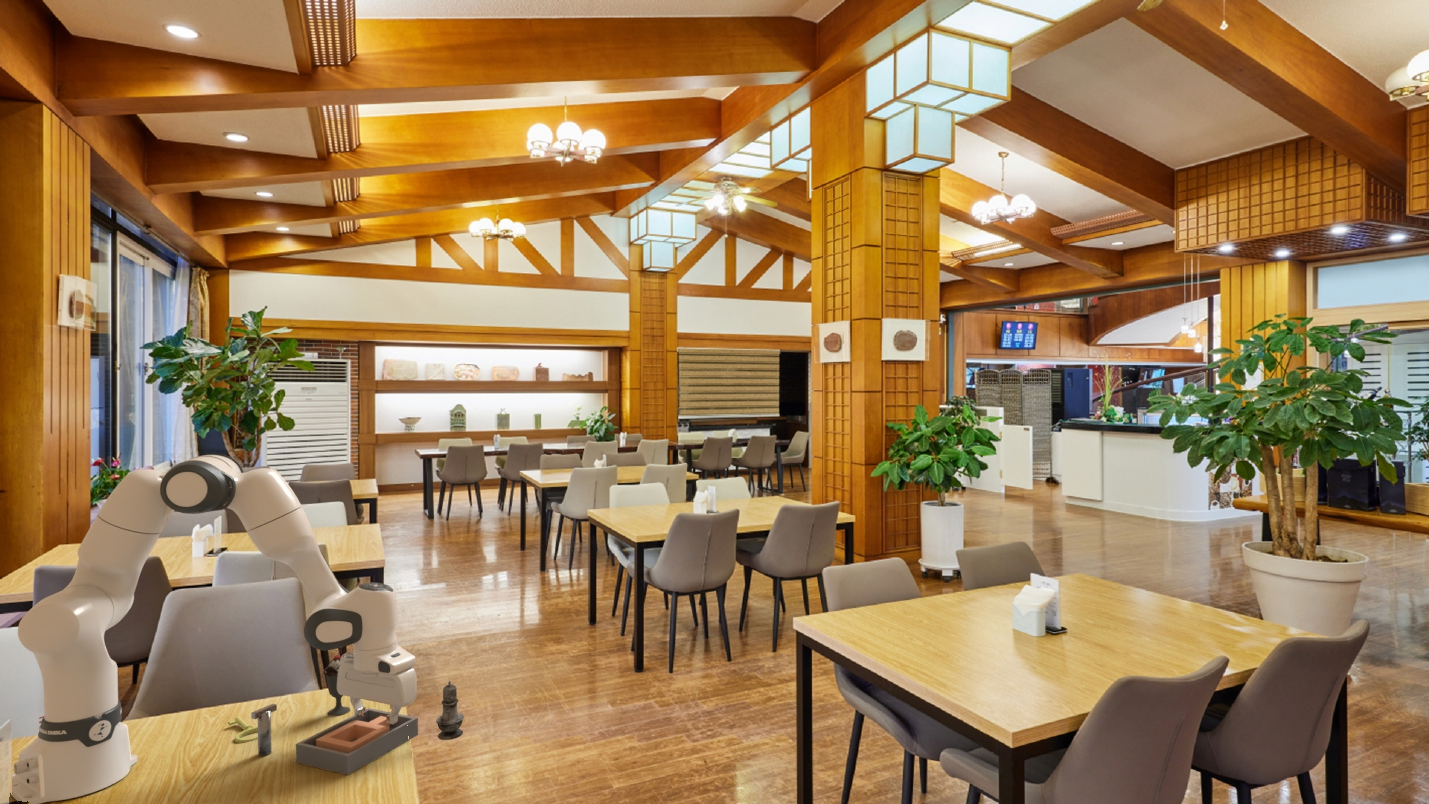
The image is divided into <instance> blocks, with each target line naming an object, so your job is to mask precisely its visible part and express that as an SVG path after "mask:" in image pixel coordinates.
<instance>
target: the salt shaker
mask: <svg viewBox="0 0 1429 804" xmlns="http://www.w3.org/2000/svg"><path fill="white" fill-rule="evenodd" d="M457 690H458V689H457V686H456V685H455V684H452V682H451V680H449V681H448V682H447V685H445V686H444V687H443V689H442V701H441V702H440V703H441V705H442V714H441V715H440V716H439V717H437V719H436V720H435V723H436V724H437V726H438V729H439V730H440V731H441V732H439V733H438V734H437V738H438V739H439V740H440V741H451V740H454V739H457V738H460V737H461V736H462V735H463V733H464V731H463V730H462V729H460V728H461V727H462V725H463V723H464V722H463V720H464V719H465V715H464V714H462V713H460V712H459V710H458V703H459V699H458V698H457V697H458V696H457V693H458V692H457Z"/></svg>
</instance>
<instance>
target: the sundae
mask: <svg viewBox="0 0 1429 804" xmlns="http://www.w3.org/2000/svg"><path fill="white" fill-rule="evenodd" d="M342 649H343V647H341V648H339V652H338V653H337V655H334V657H333V659H332V660H331V661H330V662H329V664H328V666H326V667H325V668H324V670H322V674H323V675H325V678H326V682H327V689H328V692H329V693H328V694H329V695H330V696H331V697H333V698H334V699H335V707H333V708H332V709H329V710H328V711H327V716H330V717H337V716H344V715H345V714H347V713H349V712H350V711H351V708H350V707H349V706H343V705H342V697H343V696H344V695H340V694H339V693H338V691H337V677H338V670H339V666H340V659H341V657H342V655H343V650H342ZM339 654H341V656H340V655H339Z"/></svg>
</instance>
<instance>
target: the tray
mask: <svg viewBox="0 0 1429 804" xmlns="http://www.w3.org/2000/svg"><path fill="white" fill-rule="evenodd" d="M365 712H366V714H365V715H364V716H362V717H356V716H355V715H354V714H353V715H352V716H349V717H348V718H346V719H344V720H342V721H340V722H338V723H336V724H334V725H332V726H330V727H328V728H326V729H324V730H322V731H319V732H318V733H316V734H313V735H311V736H309V737H307V738H305V739H303V740H301V741H299V742H297V743H295V763H297V764H301V765H305V766H310V767H314V768H318V769H322V770H325V771H330V772H334V773H338V774H342V775H346V776H349V775H351V774H353V773H354V772H356V771H359V770H360V769H362V768H363V767H365V766H367V765H368V764H370V763H372V762H373V761H375V760H377V759H378V758H380V757H382V756H384V755H385V754H387V753H389V752H391V751H393V750H394V749H396V748H398V747H400V746H402V745H403V744H405V743H406V742H409V740H408V736H409V739H410V740H412V739H414V738H415V737H417V736H418V735H419V717H415V716H411V715H410V716H409V715H405V714H400V713H398V721H397V722H396V723H394V724H390V731H389V732H387V733H385V734H383V735H382V736H380V737H378V738H376V739H374V740H372V741H371V742H369V743H367V744H365V745H363V746H361V747H359V748H358V749H356V750H354V751H352V752H350V753H348V754H347V753H343V752H339V751H335V750H330V749H326V748H322V747H317V746H316V739H318V738H320V737H322V736H324V735H326V734H328V733H330V732H332V731H334V730H336V729H338V728H340V727H342V726H344V725H346V724H348V723H350V722H352V721H354V720H359V721H363V722H370V721H372V720H374V719H376V718H378V717H380V716H383V717H386V716H387V715H390V713H391V711H390V712H389V711H386V710H379V709H375V708H369V707H368V708H366V710H365ZM407 725H408V726H407ZM355 740H357V738H355V739H353V740H351V741H349V742H354V741H355Z"/></svg>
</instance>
